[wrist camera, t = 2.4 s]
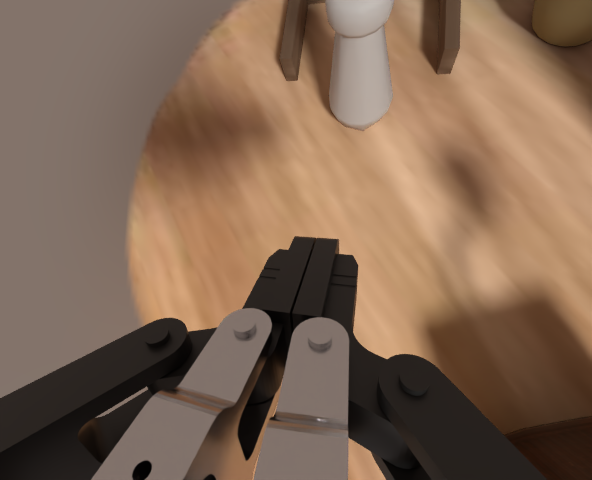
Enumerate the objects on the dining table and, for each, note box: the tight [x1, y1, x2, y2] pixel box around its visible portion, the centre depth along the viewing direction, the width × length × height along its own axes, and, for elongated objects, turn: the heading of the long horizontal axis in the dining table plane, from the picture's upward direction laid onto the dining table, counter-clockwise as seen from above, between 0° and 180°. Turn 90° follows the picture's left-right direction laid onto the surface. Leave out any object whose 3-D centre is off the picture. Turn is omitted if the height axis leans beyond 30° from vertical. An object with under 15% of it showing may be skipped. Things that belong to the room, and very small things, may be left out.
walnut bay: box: [280, 0, 461, 81], centre depth 30 cm, size 18×11×6 cm, turn 83°
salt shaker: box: [325, 0, 394, 131], centre depth 24 cm, size 6×6×13 cm
